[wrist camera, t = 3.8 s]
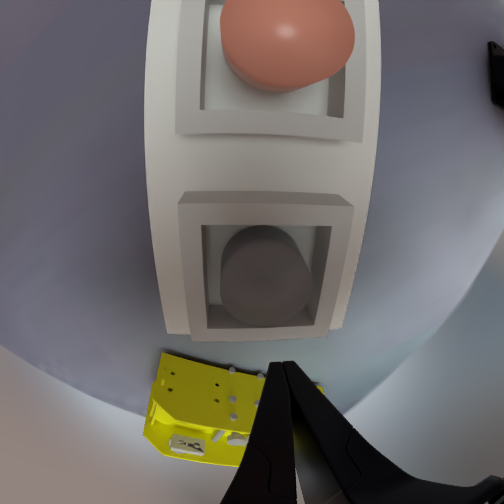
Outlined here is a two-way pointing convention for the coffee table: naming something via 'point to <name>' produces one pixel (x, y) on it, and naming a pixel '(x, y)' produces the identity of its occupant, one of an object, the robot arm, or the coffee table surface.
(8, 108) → the coffee table surface
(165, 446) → the yellow toy chassis
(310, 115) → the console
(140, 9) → the coffee table surface
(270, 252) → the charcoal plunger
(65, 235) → the coffee table surface
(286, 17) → the pink rounded ball
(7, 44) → the coffee table surface
